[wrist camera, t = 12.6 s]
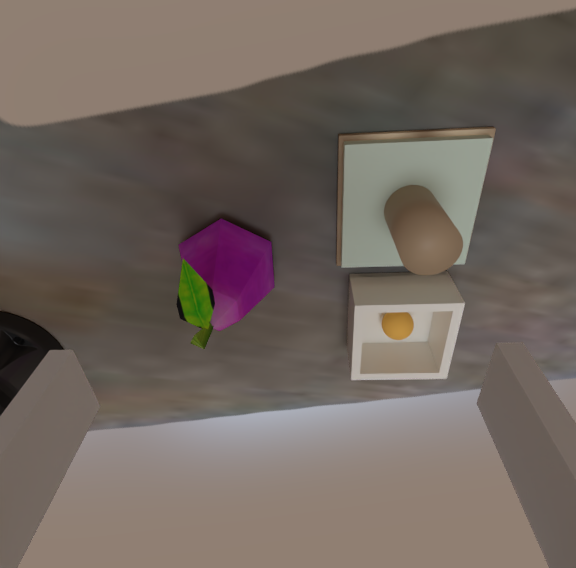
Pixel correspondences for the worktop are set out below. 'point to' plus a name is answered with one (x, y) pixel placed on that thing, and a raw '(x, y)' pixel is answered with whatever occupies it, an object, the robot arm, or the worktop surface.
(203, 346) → the magenta low-poly plum
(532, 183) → the worktop surface
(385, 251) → the lid
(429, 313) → the white open box
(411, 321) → the orange
